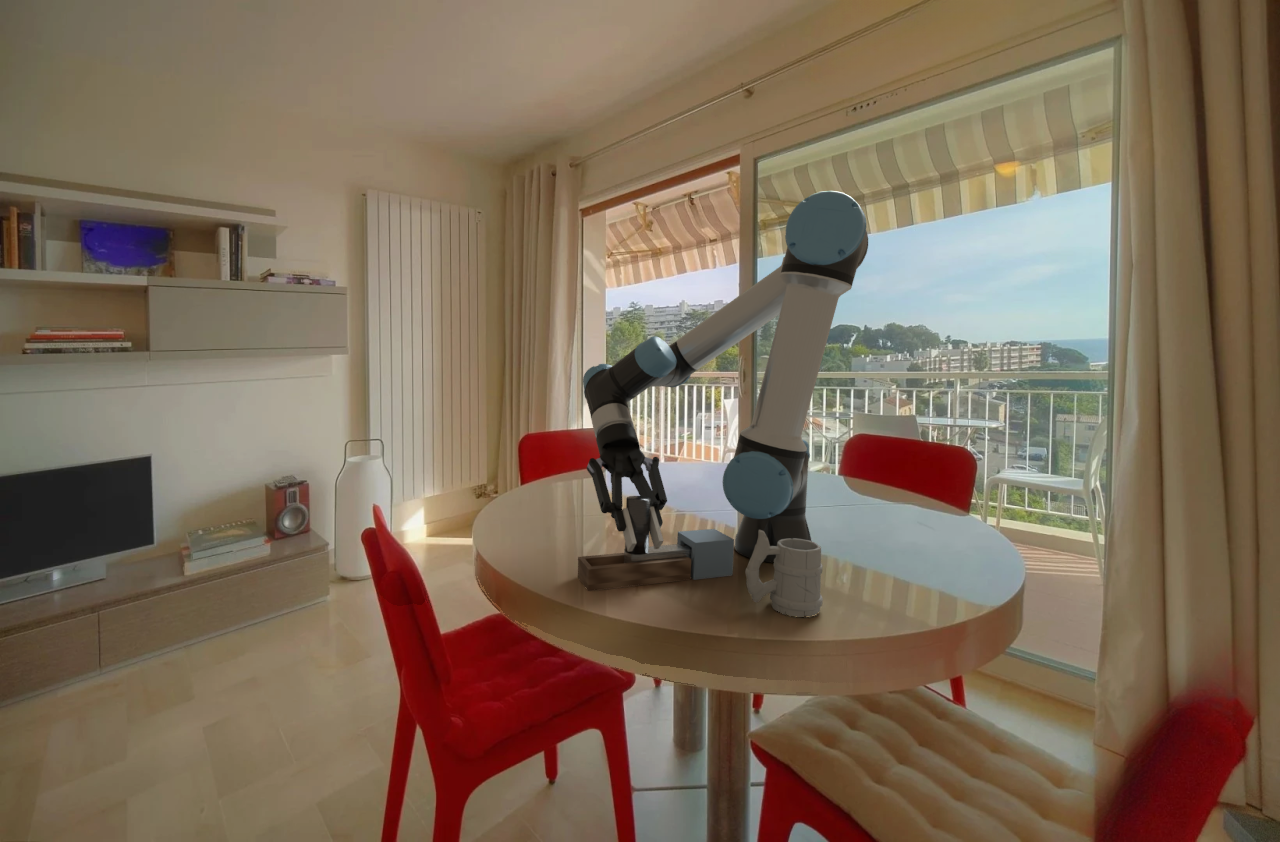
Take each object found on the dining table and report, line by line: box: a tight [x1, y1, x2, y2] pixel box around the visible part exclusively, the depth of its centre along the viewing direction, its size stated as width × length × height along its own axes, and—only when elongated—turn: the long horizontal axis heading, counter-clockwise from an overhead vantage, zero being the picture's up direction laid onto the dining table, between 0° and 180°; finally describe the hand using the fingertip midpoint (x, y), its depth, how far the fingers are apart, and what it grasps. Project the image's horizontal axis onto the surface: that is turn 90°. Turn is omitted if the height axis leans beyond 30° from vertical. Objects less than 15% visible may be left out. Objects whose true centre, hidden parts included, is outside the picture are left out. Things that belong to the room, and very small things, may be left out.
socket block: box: [676, 528, 735, 581], centre depth 99 cm, size 8×7×6 cm
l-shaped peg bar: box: [623, 495, 692, 563], centre depth 96 cm, size 16×4×12 cm, turn 112°
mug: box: [745, 530, 824, 618], centre depth 83 cm, size 8×12×12 cm, turn 98°
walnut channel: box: [577, 552, 692, 592], centre depth 94 cm, size 18×6×4 cm, turn 112°
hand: (645, 545), depth 90 cm, fingers closed on l-shaped peg bar, 4 cm apart
